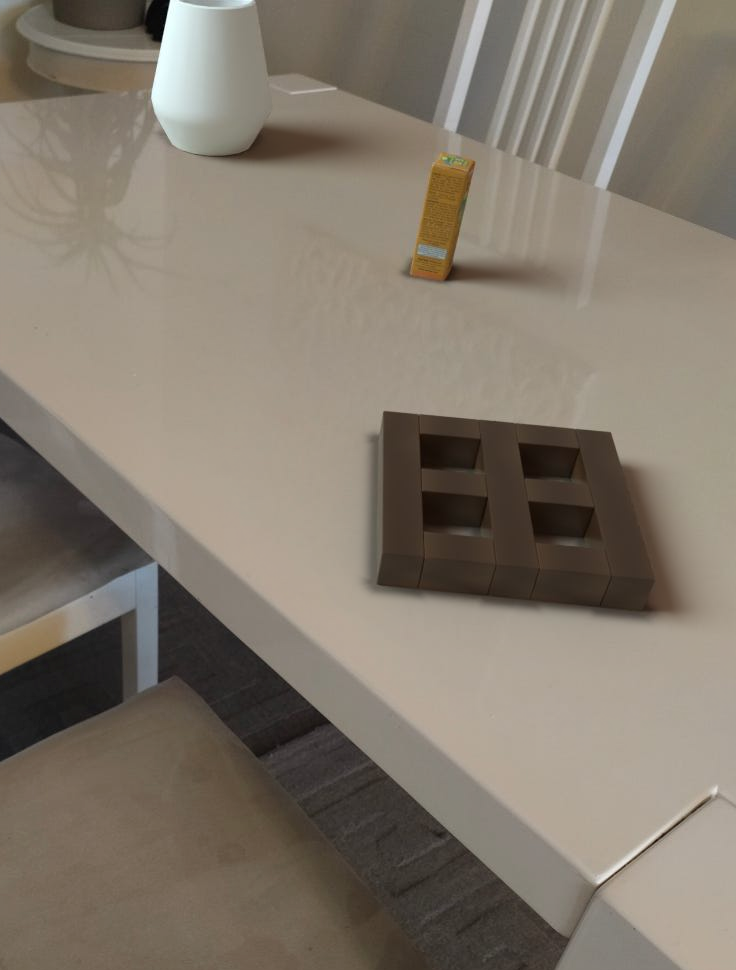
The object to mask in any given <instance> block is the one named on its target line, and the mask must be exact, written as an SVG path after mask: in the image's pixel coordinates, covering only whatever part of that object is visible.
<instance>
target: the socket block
mask: <svg viewBox="0 0 736 970" xmlns="http://www.w3.org/2000/svg"><path fill="white" fill-rule="evenodd" d="M377 445H378V446H377V456H378V457H377V503H376V504H377V508H376V509H377V510H376V512H377V513H376V516H377V517H376V572H375V573H376V575H375V576H376V578H375V584H376V585H377V586H384V587H385V586H387V587H395V588H404V589H413V590H414V589H418V590H424V591H433V592H435V591H436V592H443V593H454V594H463V595H472V596H473V595H474V596H484V597H486V596H487V597H494V598H503V599H504V598H505V599H512V600H513V599H514V600H524V601H533V602H544V603H555V604H564V605H575V606H582V607H592V608H603V609H612V610H613V609H614V610H622V611H624V610H625V611H631V612H632V611H633V612H642V611H643V609H644V608H645V604H646V603H647V600H648V598H649V595H650V594H651V591H652V589H653V587H654V585H655V582H656V578H655V574H654V572H653V571H654V570H653V568H652V565H651V561H650V558H649V555H648V551H647V548H646V545H645V541H644V537H643V535H642V532H641V527H640V524H639V521H638V517H637V514H636V511H635V508H634V505H633V504H634V503H633V501H632V497H631V495H630V491H629V488H628V484H627V481H626V478H625V475H624V471H623V467H622V464H621V460H620V458H619V454H618V450H617V447H616V444H615V441H614V437H613V434H612V432H611V431H605V430H604V431H603V430H593V429H585V428H584V429H583V428H573V427H562V426H561V427H560V426H552V425H540V424H531V423H520V422H510V421H499V420H488V419H476V418H475V419H474V418H466V417H458V416H457V417H455V416H445V415H434V414H424V413H413V412H411V413H410V412H401V411H390V410H383V411H382V417H381V422H380V429H379V435H378V443H377ZM422 465H427V466H438V467H448V468H450V467H451V468H457V469H459V468H460V469H468V470H473V472H464V471H454V470H453V471H452V470H443V469H433V468H422ZM524 475H531V476H540V477H553V478H561V479H562V478H563V479H564V478H565V479H569V480H570V482H567V481H557V480H547V479H537V478H526V477H524ZM424 523H428V524H438V525H446V526H447V525H448V526H459V527H469V528H477V529H478V528H479V530H480V536H475V535H465V534H453V533H445V532H435V531H424ZM535 534H540V535H548V536H549V535H550V536H560V537H570V538H578V539H579V538H581V539H583V541H584V545H585V546H574V545H564V544H554V543H544V542H536V540H535Z"/></svg>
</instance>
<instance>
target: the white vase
mask: <svg viewBox="0 0 736 970" xmlns="http://www.w3.org/2000/svg"><path fill="white" fill-rule="evenodd" d="M261 31H262V30H261V25H260V20H259V14H258V8H257V2H256V0H169V4H168V9H167V15H166V19H165V25H164V30H163V35H162V39H161V44H160V49H159V54H158V60H157V63H156V70H155V74H154V79H153V84H152V88H151V96H150V97H151V103H152V108H153V112H154V114H155V116H156V118H157V120H158V122H159V123H160V125H161V127H162V129H163V131H164V132H165V134H166V136H167V138H168V140H169V141H170V142H169V143H171V145H172V146H174V147H175V148H176V149H178V150H180V151H183V152H187V153H190V154H193V155H200V156H208V157H212V156H213V157H215V156H221V157H222V156H223V157H224V156H231V155H238V154H240V153H243V152H245V151H247V150H249V149H250V148H251V147H252V145H253V143H254V142H255V140H256V139H257V137H258V135H259V133H260V132H261V130H262V128H263V127H264V126H265V123H267V121H268V119H269V117H270V115H271V113H272V109H273V97H272V90H271V85H270V79H269V72H268V67H267V61H266V55H265V49H264V44H263V38H262V37H263V36H262V32H261Z"/></svg>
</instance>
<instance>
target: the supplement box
mask: <svg viewBox="0 0 736 970" xmlns="http://www.w3.org/2000/svg"><path fill="white" fill-rule="evenodd" d="M475 167H476V161H475V160H474V159H471V158H468V157H465V156H462V155H457V154H452V153H446V152H440V153H439V157H438V158H437V159H436V160H435V161H434V162H433V163H432V165H431V169H430V173H429V176H428V182H427V187H426V190H425V196H424V200H423V205H422V211H421V216H420V221H419V224H418V230H417V235H416V241H415V245H414V249H413V255H412V261H411V266H410V272H409V275H410V276H416V277H420V278H425V279H431V280H436V281H442V282H444V281H446V279H447V277H448V276H449V274H450V272H451V270H452V267H453V266H452V265H453V261H454V258H455V253H456V248H457V245H458V241H459V240H458V239H459V235H460V231H461V226H462V223H463V218H464V215H465V209H466V206H467V201H468V197H469V192H470V187H471V183H472V180H473V175H474V170H475Z"/></svg>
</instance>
